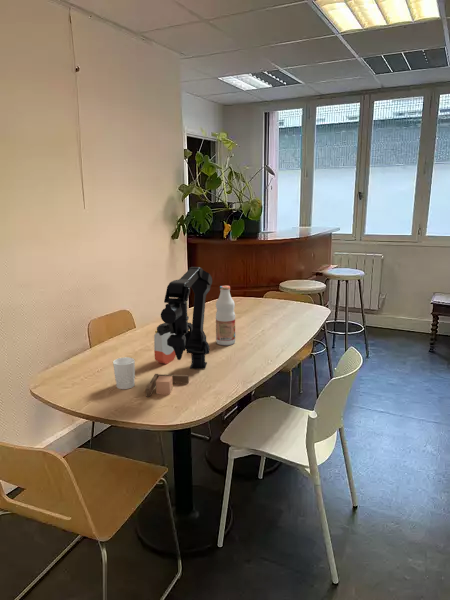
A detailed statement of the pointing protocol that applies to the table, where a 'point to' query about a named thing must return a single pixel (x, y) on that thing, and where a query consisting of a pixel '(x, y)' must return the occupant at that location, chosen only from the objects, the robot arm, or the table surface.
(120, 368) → the white cup
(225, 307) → the fruit juice
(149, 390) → the walnut fence
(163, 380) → the light brown cube
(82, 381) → the table surface
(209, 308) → the table surface
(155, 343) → the french fries container
